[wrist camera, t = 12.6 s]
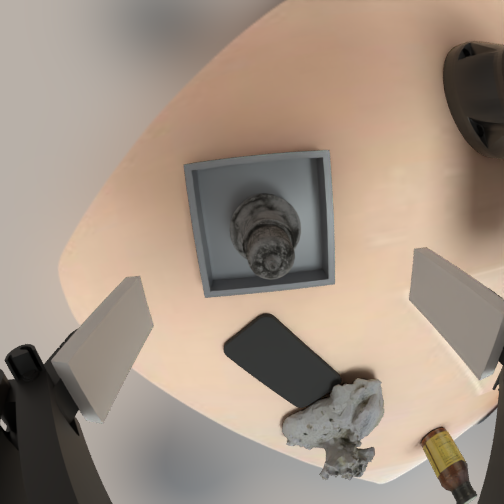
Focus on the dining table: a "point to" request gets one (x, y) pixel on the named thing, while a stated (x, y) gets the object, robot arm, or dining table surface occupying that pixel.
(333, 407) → the coral
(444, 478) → the sauce bottle
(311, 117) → the dining table surface
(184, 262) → the dining table surface
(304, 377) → the phone
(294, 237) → the dark chess piece
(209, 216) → the tray
